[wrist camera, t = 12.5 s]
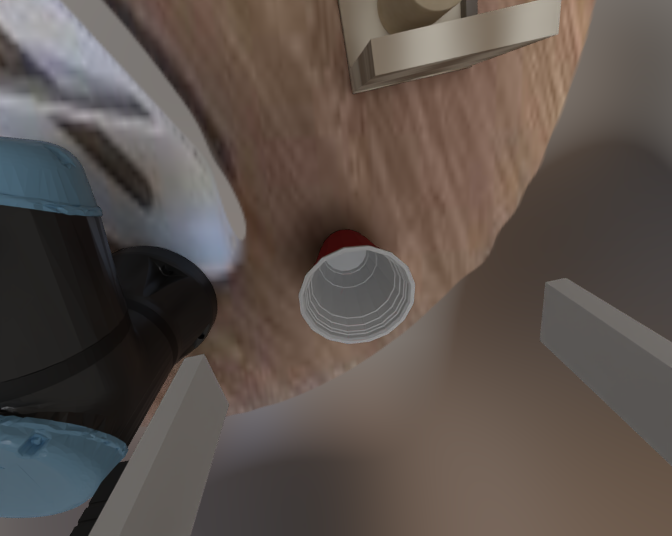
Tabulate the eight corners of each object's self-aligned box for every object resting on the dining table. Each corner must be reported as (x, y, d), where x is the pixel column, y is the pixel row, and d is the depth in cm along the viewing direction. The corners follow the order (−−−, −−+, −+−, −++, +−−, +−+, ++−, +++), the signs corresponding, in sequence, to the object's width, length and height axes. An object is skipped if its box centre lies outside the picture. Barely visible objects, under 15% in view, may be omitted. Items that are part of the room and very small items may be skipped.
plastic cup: (315, 299, 42) (317, 360, 31) (290, 223, 37) (281, 264, 26) (394, 278, 41) (424, 333, 31) (379, 199, 37) (407, 231, 26)
